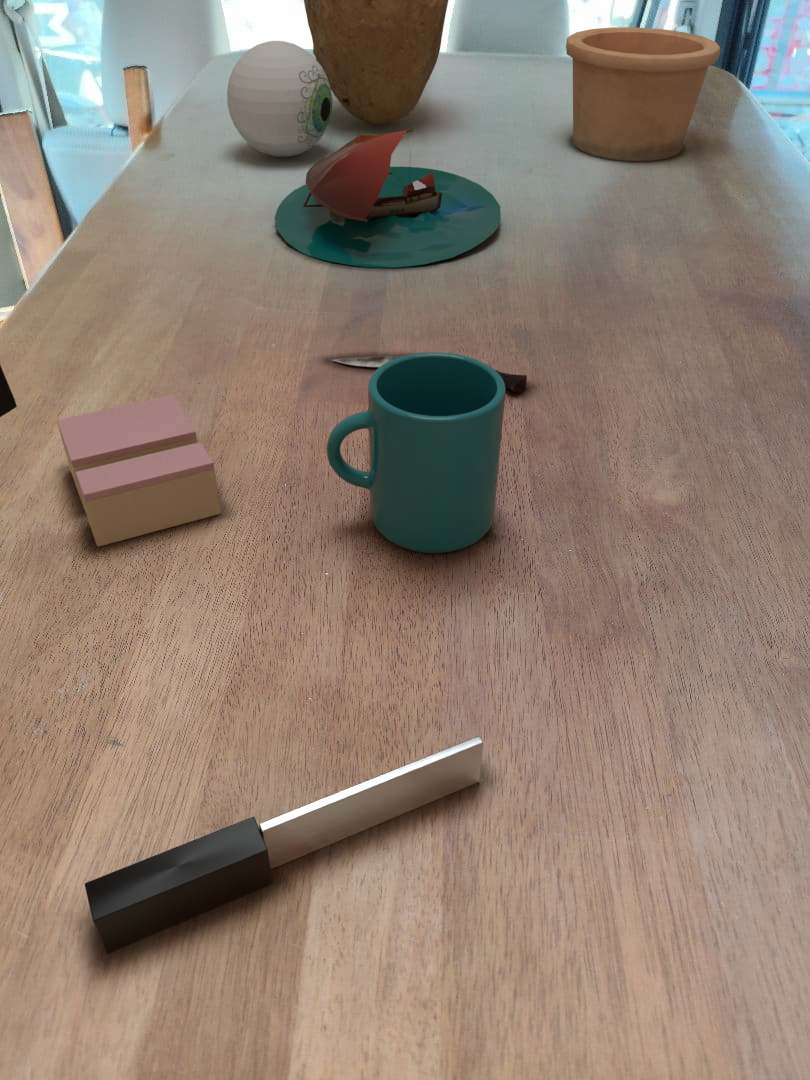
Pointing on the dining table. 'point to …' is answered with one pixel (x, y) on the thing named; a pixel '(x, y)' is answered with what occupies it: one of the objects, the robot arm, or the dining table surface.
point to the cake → (124, 433)
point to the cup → (429, 450)
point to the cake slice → (149, 493)
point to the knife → (510, 380)
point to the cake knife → (263, 848)
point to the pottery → (636, 90)
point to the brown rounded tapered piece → (377, 52)
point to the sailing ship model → (384, 209)
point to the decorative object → (279, 98)
